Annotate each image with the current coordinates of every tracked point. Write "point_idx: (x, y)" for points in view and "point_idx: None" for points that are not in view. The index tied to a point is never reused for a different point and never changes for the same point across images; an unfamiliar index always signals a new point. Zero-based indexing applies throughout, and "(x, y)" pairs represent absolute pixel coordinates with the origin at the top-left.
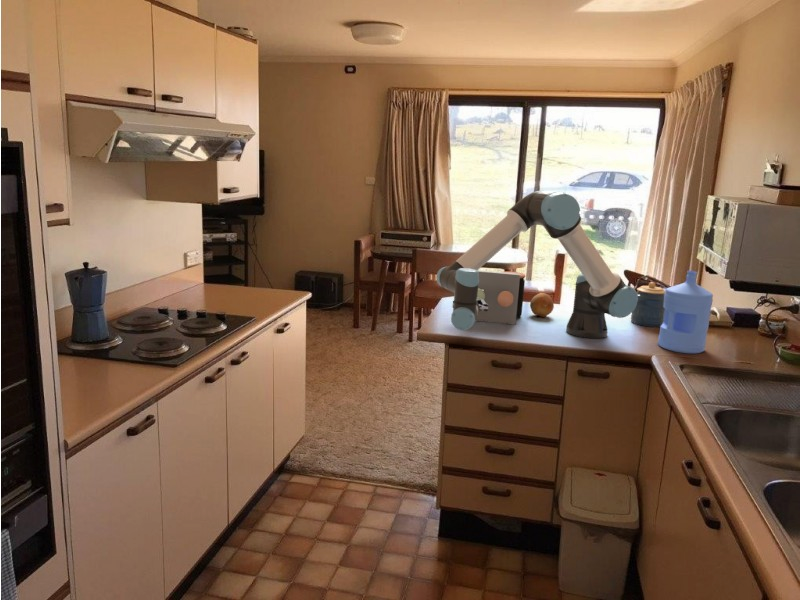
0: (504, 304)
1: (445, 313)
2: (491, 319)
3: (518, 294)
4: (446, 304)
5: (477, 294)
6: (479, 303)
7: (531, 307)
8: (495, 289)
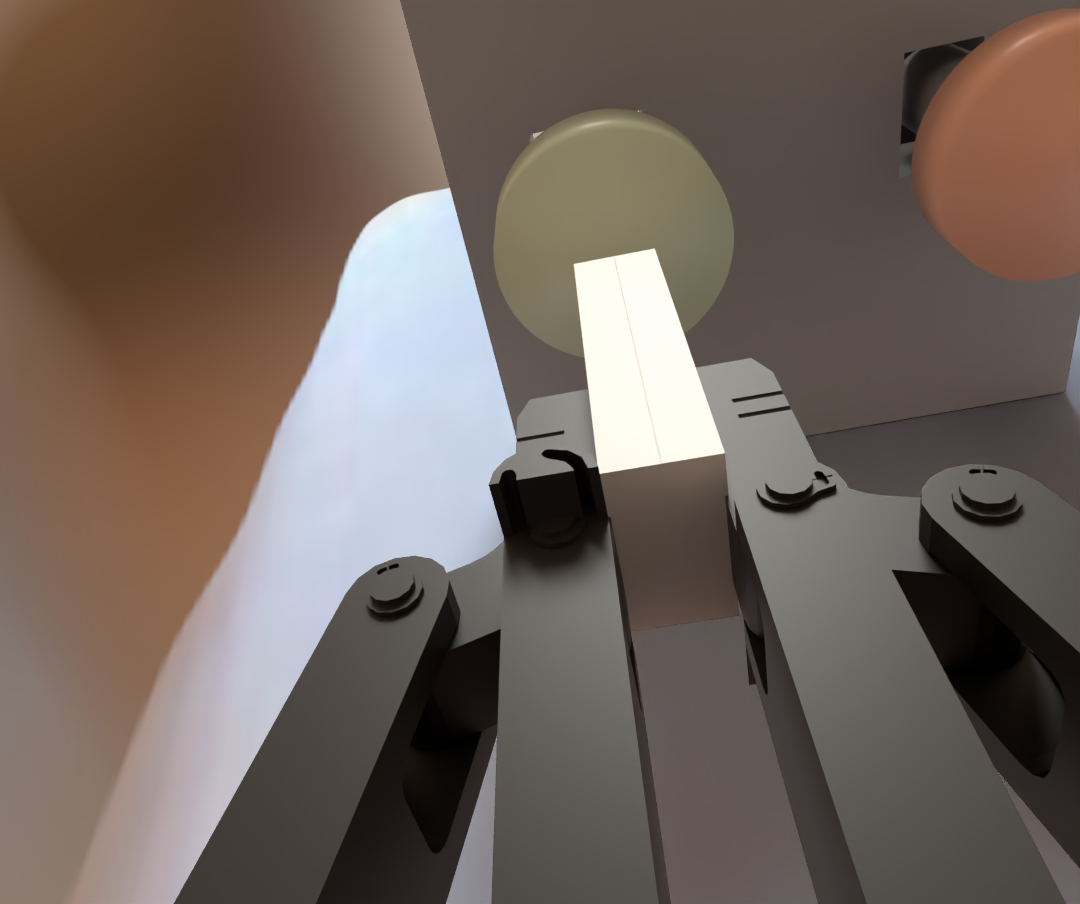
0: (1053, 244)
1: (337, 428)
2: (800, 413)
3: (968, 43)
4: (355, 287)
5: (614, 217)
6: (935, 652)
7: None
8: (811, 51)
